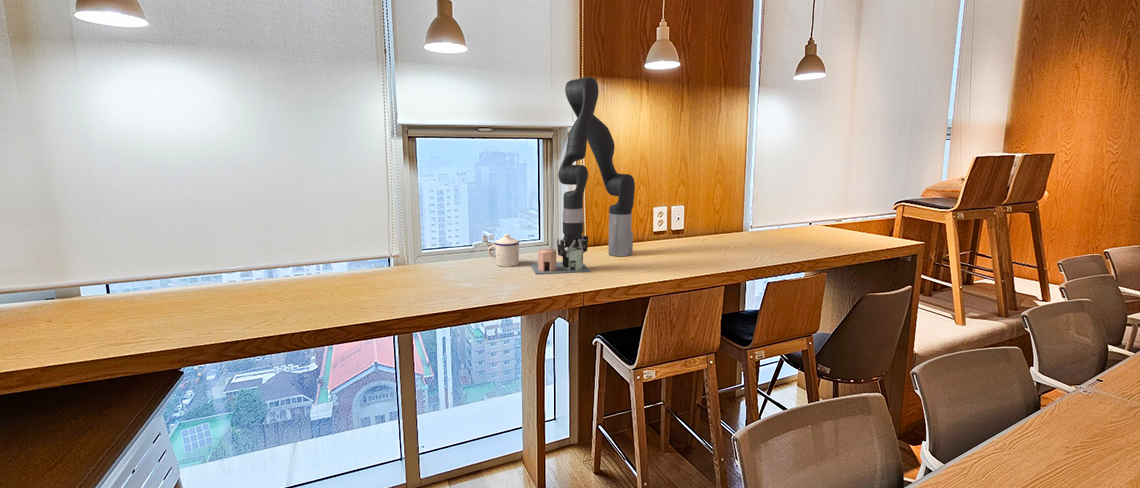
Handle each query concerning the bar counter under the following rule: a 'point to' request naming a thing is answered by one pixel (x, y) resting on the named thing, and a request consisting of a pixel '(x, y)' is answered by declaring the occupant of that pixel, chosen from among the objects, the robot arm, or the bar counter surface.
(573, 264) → the ivory ball
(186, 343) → the bar counter surface
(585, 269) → the slate mat
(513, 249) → the teacup with lid
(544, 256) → the terracotta cup
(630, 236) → the robot arm
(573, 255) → the green piece
